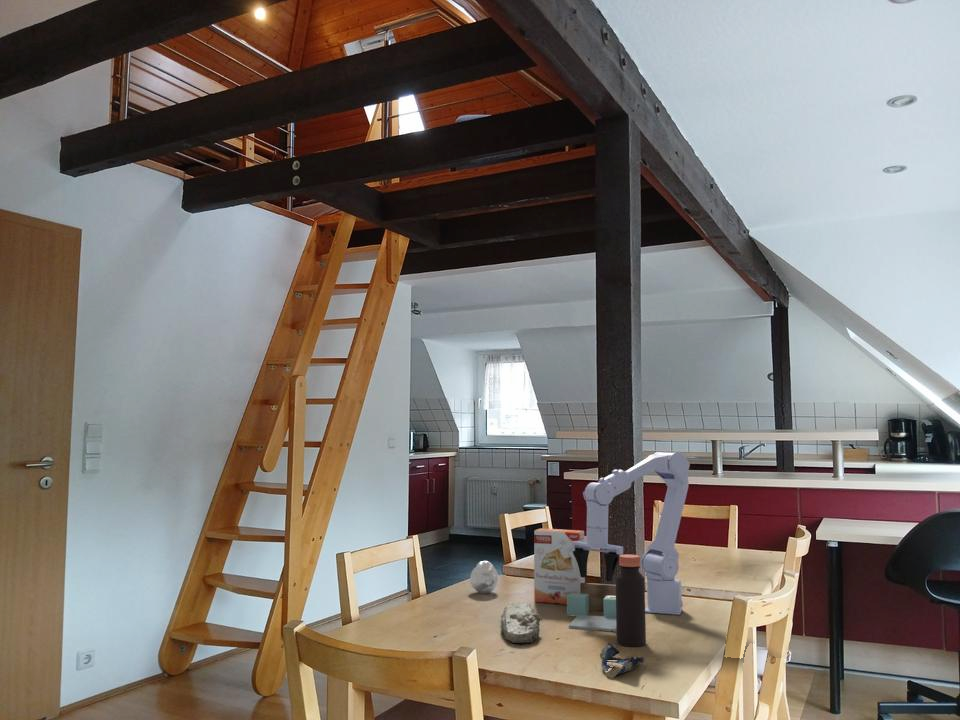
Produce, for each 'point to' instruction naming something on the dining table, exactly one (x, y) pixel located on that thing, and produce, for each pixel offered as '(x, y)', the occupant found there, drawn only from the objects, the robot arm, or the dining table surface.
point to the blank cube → (577, 604)
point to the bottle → (630, 602)
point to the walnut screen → (597, 594)
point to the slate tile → (594, 623)
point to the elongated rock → (520, 623)
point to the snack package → (612, 651)
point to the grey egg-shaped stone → (484, 577)
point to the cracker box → (556, 565)
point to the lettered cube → (610, 606)
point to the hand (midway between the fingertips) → (596, 579)
